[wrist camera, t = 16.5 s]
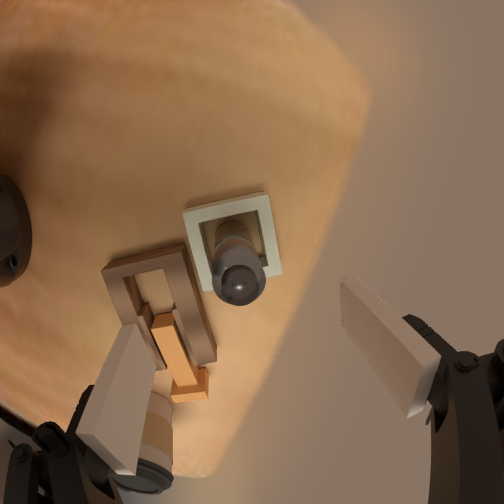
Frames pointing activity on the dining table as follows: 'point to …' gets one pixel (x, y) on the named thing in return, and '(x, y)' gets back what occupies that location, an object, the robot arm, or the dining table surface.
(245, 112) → the dining table surface
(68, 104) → the dining table surface
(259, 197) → the square frame
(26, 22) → the dining table surface
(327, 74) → the dining table surface
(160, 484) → the coffee cup
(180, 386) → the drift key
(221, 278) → the dark grey cylinder
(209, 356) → the socket block
